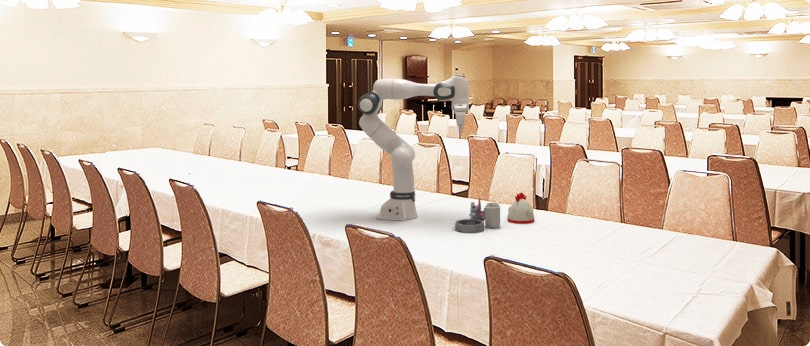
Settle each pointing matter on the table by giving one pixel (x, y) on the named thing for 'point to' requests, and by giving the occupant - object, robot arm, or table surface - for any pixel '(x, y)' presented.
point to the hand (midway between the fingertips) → (460, 133)
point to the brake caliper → (477, 211)
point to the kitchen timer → (520, 211)
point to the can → (492, 215)
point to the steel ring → (469, 226)
